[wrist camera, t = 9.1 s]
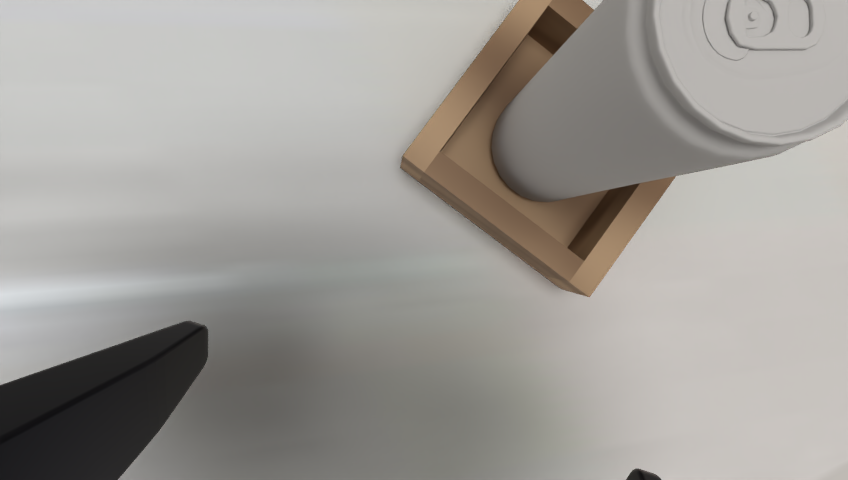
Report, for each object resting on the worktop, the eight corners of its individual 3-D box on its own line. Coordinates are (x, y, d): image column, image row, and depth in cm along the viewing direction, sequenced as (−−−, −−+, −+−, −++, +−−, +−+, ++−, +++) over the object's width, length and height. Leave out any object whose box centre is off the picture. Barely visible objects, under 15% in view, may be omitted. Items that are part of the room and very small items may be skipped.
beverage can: (485, 94, 20) (640, -129, 8) (592, 93, 20) (899, -122, 8) (490, 205, 20) (651, 156, 8) (597, 201, 20) (908, 148, 8)
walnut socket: (560, 288, 20) (589, 297, 17) (400, 167, 20) (402, 155, 17) (674, 130, 21) (720, 113, 18) (520, 7, 20) (543, -32, 17)
